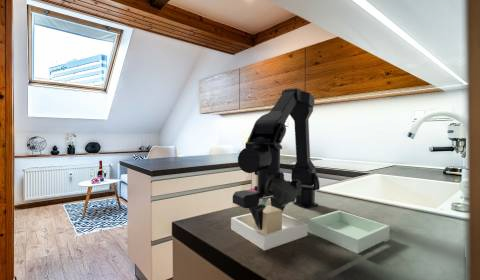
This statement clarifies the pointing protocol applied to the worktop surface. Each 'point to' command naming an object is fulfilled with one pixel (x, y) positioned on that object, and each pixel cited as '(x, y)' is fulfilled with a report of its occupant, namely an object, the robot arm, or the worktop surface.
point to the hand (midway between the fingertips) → (268, 227)
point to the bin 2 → (349, 230)
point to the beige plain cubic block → (271, 220)
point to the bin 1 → (289, 232)
